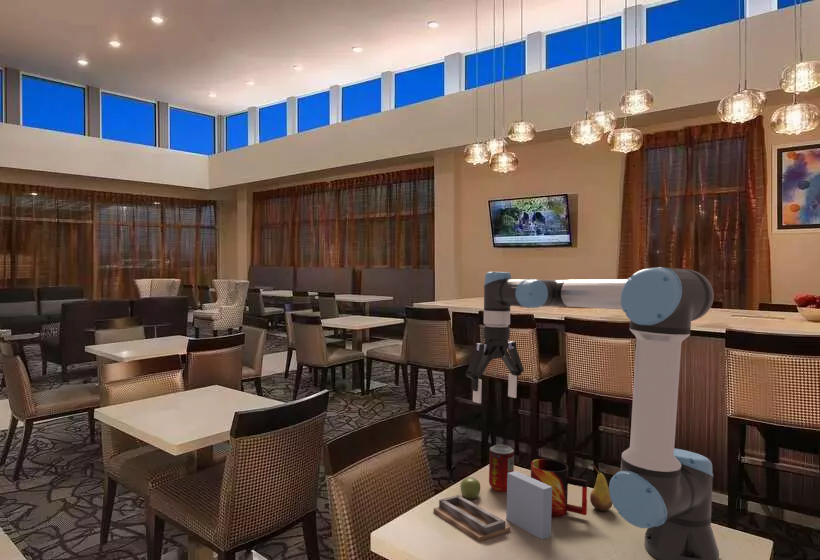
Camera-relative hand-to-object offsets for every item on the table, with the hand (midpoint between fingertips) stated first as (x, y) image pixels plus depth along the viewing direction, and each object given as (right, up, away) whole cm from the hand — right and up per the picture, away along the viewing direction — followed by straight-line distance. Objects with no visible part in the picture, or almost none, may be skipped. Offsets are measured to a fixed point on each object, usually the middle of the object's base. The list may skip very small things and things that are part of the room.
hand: (494, 399), depth 152 cm
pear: (-7, -27, -1) cm, 28 cm away
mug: (+15, -28, -10) cm, 33 cm away
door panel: (+5, -27, -21) cm, 34 cm away
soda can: (+2, -27, +3) cm, 27 cm away
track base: (-9, -27, -18) cm, 33 cm away
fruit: (+27, -28, -9) cm, 40 cm away
